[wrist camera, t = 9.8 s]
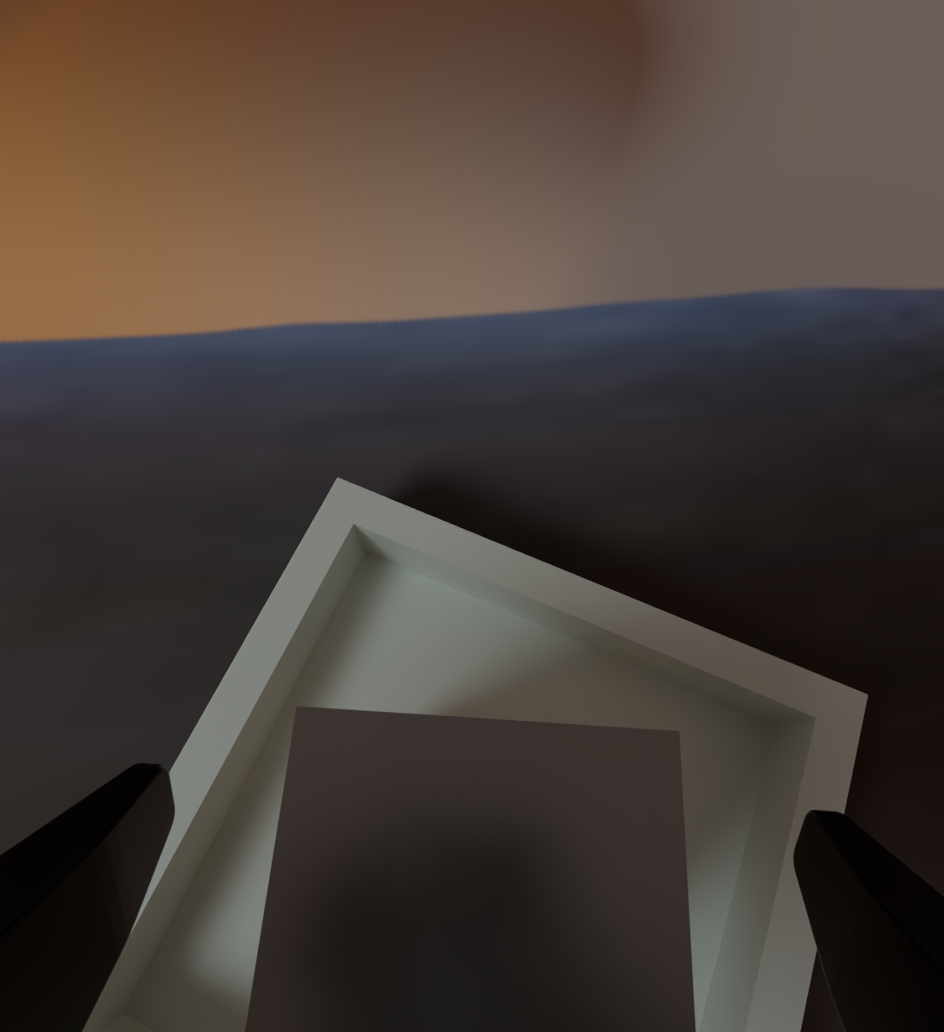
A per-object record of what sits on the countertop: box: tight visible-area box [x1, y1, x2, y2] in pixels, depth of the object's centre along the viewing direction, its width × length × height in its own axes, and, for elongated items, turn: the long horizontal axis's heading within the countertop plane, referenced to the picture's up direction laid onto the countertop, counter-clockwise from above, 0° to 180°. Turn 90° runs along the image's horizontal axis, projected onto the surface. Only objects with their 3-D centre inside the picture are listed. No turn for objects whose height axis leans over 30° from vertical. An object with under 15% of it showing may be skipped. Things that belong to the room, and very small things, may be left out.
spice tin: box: [245, 706, 696, 1032], centre depth 12 cm, size 5×5×9 cm
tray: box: [82, 478, 868, 1032], centre depth 15 cm, size 14×14×3 cm
